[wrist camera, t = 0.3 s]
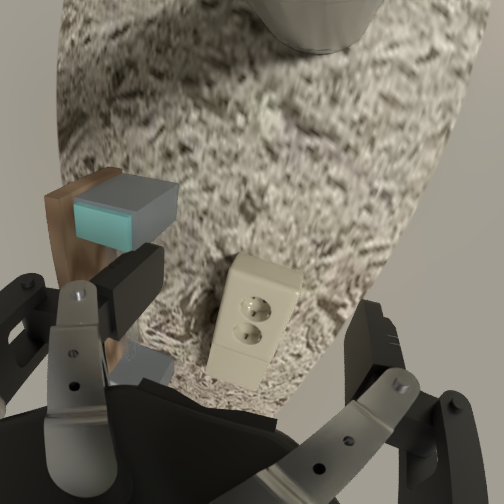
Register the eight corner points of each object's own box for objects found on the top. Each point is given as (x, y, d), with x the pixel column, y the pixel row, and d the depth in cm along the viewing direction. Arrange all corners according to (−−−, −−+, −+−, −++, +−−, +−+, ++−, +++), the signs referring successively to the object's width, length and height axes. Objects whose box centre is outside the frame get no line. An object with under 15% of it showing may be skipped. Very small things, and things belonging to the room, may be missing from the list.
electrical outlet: (202, 379, 38) (227, 269, 29) (212, 357, 41) (239, 249, 32) (254, 396, 37) (301, 293, 28) (260, 374, 41) (304, 271, 32)
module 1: (122, 173, 31) (69, 199, 23) (178, 183, 30) (132, 214, 22) (121, 206, 33) (73, 239, 25) (176, 219, 32) (133, 258, 24)
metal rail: (121, 206, 33) (104, 218, 30) (132, 209, 32) (115, 221, 29) (132, 341, 43) (121, 357, 40) (141, 345, 43) (130, 360, 40)
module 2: (132, 341, 43) (104, 381, 36) (173, 357, 43) (149, 401, 35) (135, 358, 45) (109, 396, 38) (174, 373, 45) (152, 415, 37)
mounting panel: (108, 166, 31) (44, 195, 22) (122, 168, 30) (58, 199, 22) (125, 355, 46) (95, 399, 37) (135, 360, 46) (106, 404, 37)
